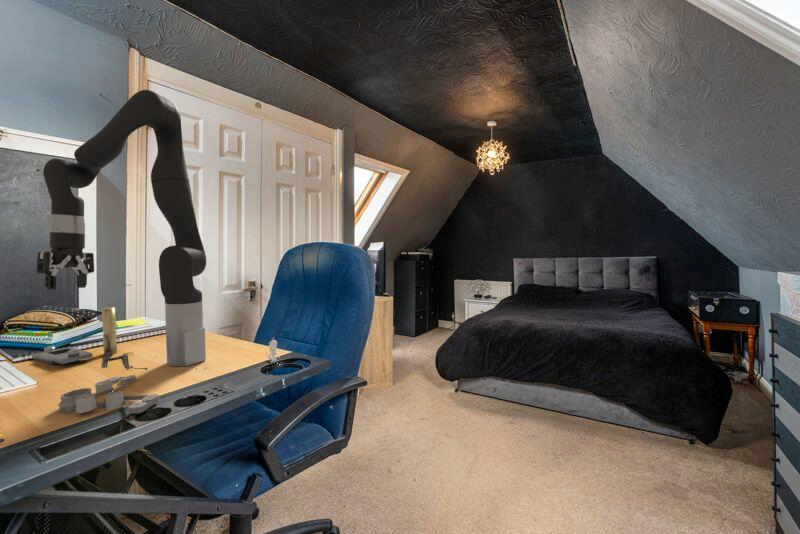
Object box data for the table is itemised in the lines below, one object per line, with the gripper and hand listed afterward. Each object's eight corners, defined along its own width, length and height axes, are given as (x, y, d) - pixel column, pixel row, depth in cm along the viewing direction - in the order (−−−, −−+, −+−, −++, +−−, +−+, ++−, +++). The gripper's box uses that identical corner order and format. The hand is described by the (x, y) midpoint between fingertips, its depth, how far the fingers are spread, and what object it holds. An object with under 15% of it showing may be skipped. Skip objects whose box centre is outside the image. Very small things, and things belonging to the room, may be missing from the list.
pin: (119, 352, 115) (117, 307, 114) (107, 355, 112) (105, 309, 111) (113, 351, 117) (111, 306, 116) (101, 353, 114) (99, 308, 113)
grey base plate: (92, 361, 107) (92, 348, 106) (61, 368, 100) (60, 354, 100) (61, 352, 115) (61, 340, 115) (31, 358, 109) (30, 345, 109)
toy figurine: (268, 367, 102) (267, 340, 102) (257, 361, 108) (256, 335, 108) (286, 363, 106) (286, 337, 105) (274, 357, 112) (274, 333, 111)
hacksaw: (103, 357, 112) (103, 352, 112) (144, 351, 118) (144, 346, 118) (98, 381, 93) (98, 375, 93) (148, 372, 99) (148, 367, 99)
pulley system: (68, 441, 66) (165, 408, 77) (65, 415, 65) (163, 386, 76) (53, 402, 84) (133, 380, 95) (50, 381, 84) (130, 362, 95)
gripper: (53, 230, 99) (52, 291, 99) (102, 234, 113) (101, 287, 113) (28, 229, 100) (27, 290, 100) (80, 233, 114) (79, 286, 114)
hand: (66, 288), depth 107 cm, fingers open, 8 cm apart
